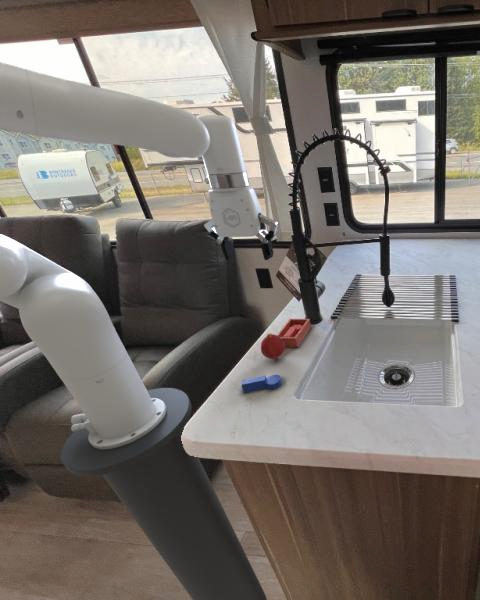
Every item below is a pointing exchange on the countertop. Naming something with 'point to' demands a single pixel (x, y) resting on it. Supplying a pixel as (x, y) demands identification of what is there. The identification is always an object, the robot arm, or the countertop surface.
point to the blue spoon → (261, 383)
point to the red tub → (300, 335)
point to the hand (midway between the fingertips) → (249, 258)
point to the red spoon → (293, 330)
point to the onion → (272, 346)
